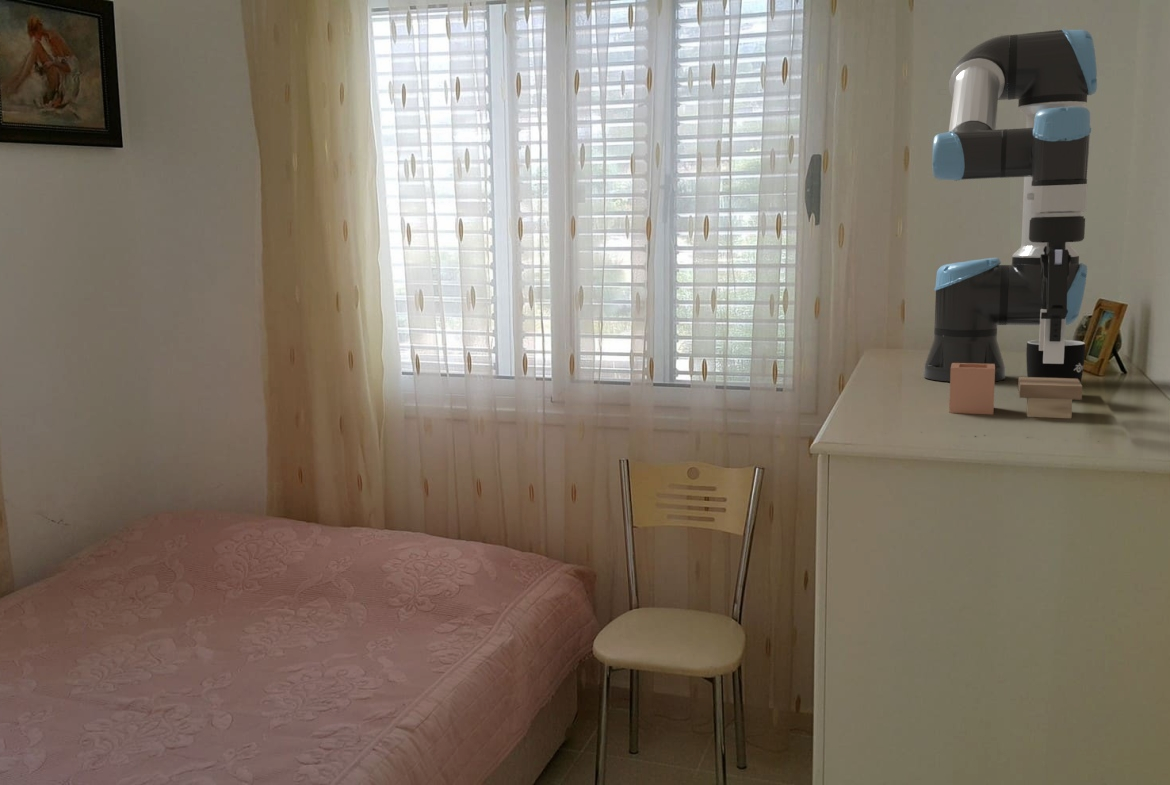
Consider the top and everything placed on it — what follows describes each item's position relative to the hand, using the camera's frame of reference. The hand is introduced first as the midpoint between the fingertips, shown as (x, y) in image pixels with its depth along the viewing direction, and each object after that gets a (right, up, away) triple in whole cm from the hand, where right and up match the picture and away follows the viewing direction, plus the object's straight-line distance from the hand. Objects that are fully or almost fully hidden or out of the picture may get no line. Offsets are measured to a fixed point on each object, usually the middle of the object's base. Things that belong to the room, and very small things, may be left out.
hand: (1050, 356), depth 154 cm
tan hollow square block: (-10, -9, +6) cm, 15 cm away
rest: (0, -10, +1) cm, 10 cm away
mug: (+9, -7, +19) cm, 22 cm away
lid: (0, -6, 0) cm, 6 cm away
